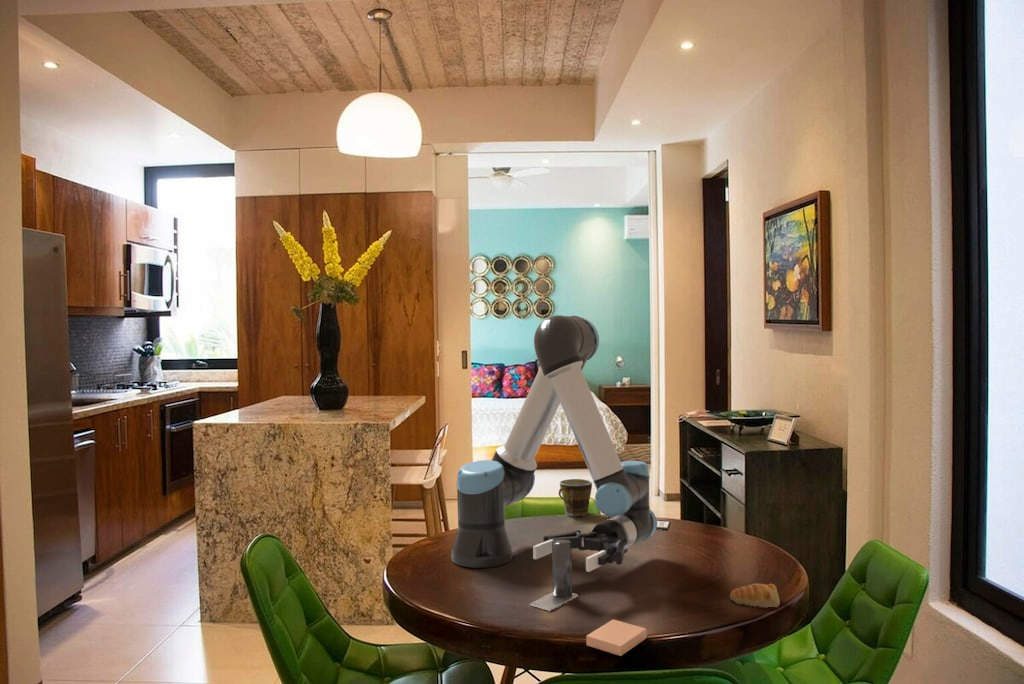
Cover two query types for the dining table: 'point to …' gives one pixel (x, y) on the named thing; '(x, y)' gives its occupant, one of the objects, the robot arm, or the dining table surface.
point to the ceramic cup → (576, 496)
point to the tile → (616, 637)
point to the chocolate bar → (659, 524)
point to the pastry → (756, 595)
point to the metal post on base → (559, 577)
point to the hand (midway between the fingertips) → (560, 558)
